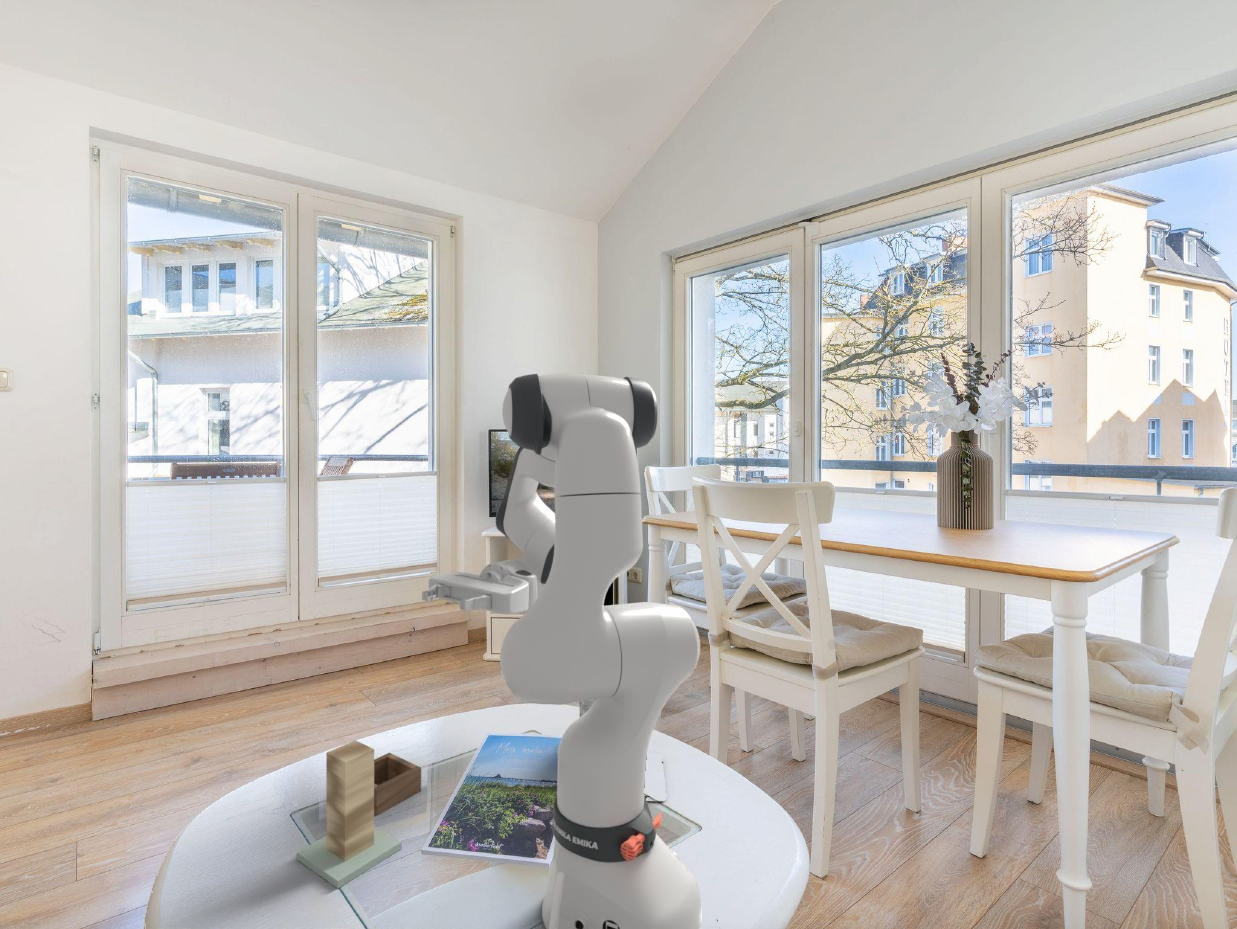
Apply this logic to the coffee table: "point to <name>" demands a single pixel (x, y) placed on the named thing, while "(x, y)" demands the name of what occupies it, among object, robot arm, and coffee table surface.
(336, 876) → the pad
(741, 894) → the coffee table surface
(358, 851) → the oak block
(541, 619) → the robot arm
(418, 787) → the pocket
